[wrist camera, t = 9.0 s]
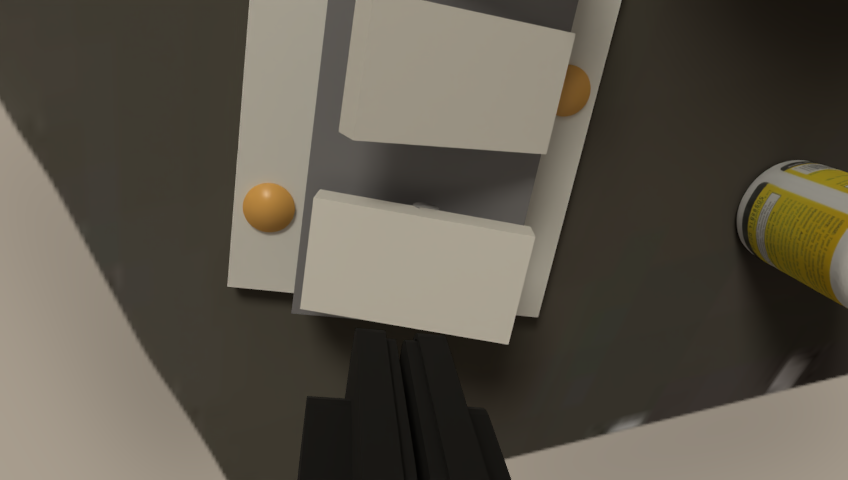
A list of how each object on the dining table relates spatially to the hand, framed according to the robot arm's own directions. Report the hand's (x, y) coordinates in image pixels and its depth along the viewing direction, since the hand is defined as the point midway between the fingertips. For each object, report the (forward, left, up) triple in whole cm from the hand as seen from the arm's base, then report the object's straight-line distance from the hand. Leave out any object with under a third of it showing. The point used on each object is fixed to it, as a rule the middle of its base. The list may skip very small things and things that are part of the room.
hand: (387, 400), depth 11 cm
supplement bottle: (-22, -1, -18) cm, 28 cm away
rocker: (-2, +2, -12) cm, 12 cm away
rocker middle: (-2, -5, -12) cm, 13 cm away
